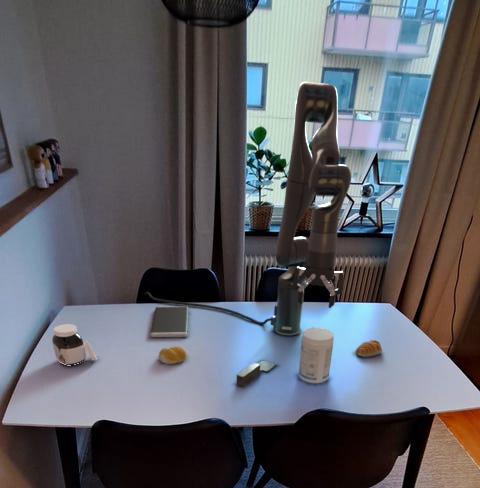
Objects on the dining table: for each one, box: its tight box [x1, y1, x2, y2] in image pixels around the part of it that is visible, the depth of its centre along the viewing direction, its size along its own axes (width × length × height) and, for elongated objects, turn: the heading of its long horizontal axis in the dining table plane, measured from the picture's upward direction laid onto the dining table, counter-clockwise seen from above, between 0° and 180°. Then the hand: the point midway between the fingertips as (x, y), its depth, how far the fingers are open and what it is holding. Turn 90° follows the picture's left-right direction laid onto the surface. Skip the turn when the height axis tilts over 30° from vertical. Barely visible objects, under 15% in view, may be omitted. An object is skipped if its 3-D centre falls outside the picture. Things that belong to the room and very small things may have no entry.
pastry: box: [355, 339, 383, 358], centre depth 164 cm, size 9×7×4 cm
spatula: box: [236, 359, 277, 388], centre depth 150 cm, size 18×5×3 cm, turn 147°
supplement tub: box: [298, 327, 334, 384], centre depth 146 cm, size 10×10×15 cm
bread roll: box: [158, 346, 187, 365], centre depth 158 cm, size 8×9×4 cm
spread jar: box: [51, 323, 98, 368], centre depth 153 cm, size 12×11×12 cm
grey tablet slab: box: [150, 306, 189, 338], centre depth 183 cm, size 13×27×2 cm, turn 4°
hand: (315, 305), depth 140 cm, fingers open, 8 cm apart
